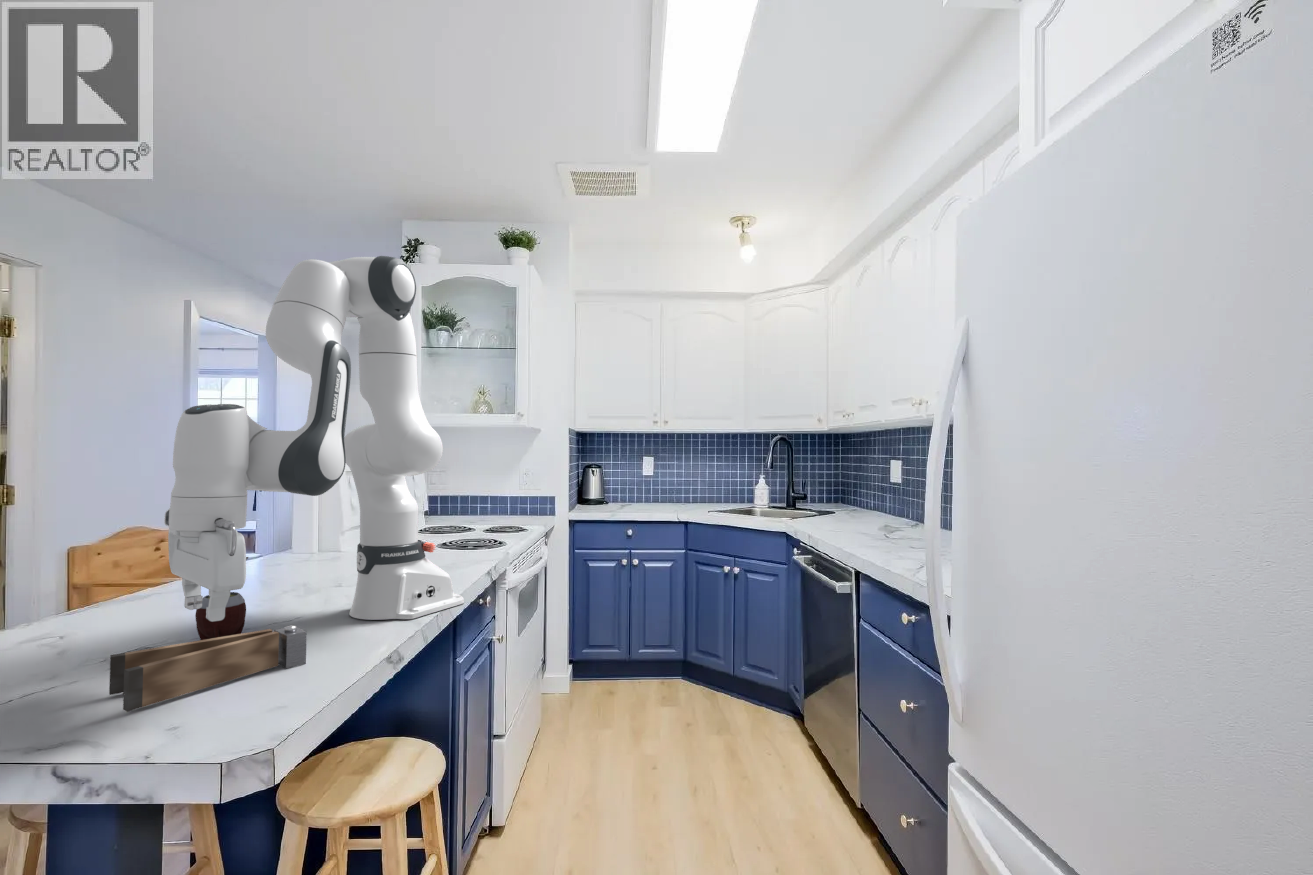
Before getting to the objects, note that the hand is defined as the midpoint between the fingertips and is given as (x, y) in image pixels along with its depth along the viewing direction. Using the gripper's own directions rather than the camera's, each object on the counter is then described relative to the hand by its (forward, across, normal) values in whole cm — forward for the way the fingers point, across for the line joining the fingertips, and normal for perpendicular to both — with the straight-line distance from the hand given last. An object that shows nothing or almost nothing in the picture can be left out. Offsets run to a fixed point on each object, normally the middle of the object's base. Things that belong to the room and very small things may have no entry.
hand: (203, 614), depth 86 cm
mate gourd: (+10, +20, -9) cm, 24 cm away
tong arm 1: (+9, +3, 0) cm, 10 cm away
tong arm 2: (+9, -2, 0) cm, 10 cm away
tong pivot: (+10, 0, -12) cm, 15 cm away
